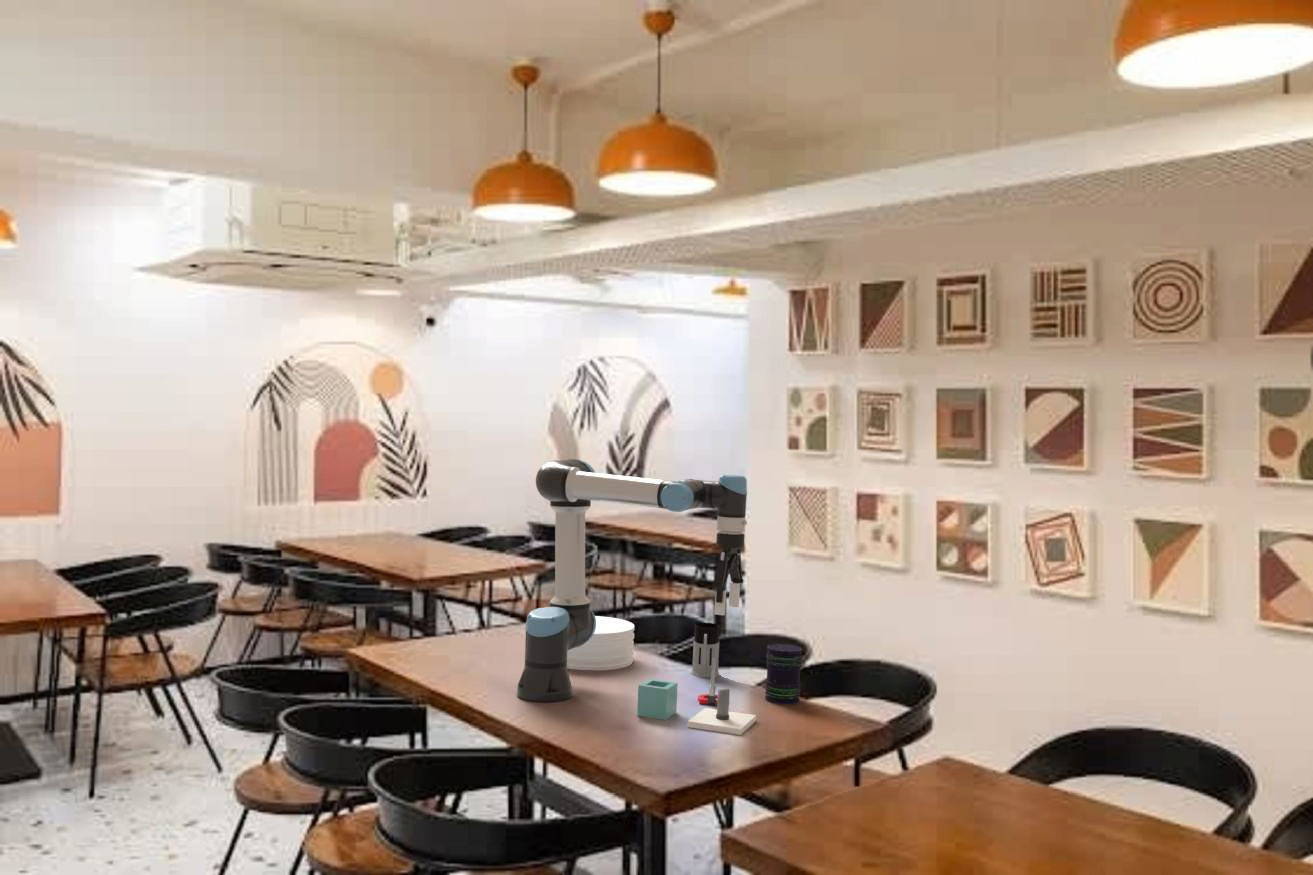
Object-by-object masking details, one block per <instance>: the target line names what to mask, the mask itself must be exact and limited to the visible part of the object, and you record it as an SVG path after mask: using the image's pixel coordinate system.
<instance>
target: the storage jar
mask: <svg viewBox="0 0 1313 875" xmlns="http://www.w3.org/2000/svg"><path fill="white" fill-rule="evenodd" d="M802 651H803V648H802V647H801V646H799V645H797V644H793V643H792V644H789V643H771V644H768V645H767V651H766V653H767V654H766V667H767V669H766V670H767V671H766V679H765V687H764V690H765V691H764V692H765V696H764V700H765V701H766V702H769V703H771V704H774V705H775V704H776V705H786V706H790V705H796V704H799V703H800V697H801V696H800V695H801V694H800V693H801V681H800V678H801V669H802V662H803V660H802V659H803V657H802V654H803V653H802Z"/></svg>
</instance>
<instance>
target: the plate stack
mask: <svg viewBox="0 0 1313 875" xmlns="http://www.w3.org/2000/svg"><path fill="white" fill-rule="evenodd" d="M595 618H596V629H595V632H594V634H593V636H592V637H591V639H590V640H589V641H587V642H586V643H585V644H583V645H581V646H579V647H576V648H573V649H570V650H568V651H567V670H568V669H569V670H576V671H577V670H578V671H608V670H609V671H610V670H611V671H612V670H617V669H622V668H626V667H629V666H631V665H632V664H633V663H632V662H634V645H635V642H634V639H635V632H634V631H635V624H634V623H632V622H630V621H628V620H626V619H623V618H622V619H621V618H617V617H611V616H609V617H608V616H600V615H595Z"/></svg>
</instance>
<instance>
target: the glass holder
mask: <svg viewBox="0 0 1313 875" xmlns="http://www.w3.org/2000/svg"><path fill="white" fill-rule="evenodd" d="M692 648H693V649H692V650H693V651H692V652H693V653H692V668H691V672H690V674H691V675H692V676H694V677H698V678H711V666H712V661H713V658H715V665H716V671H715V678H716V677H719V676H720V671H719V658H720V657H719V654H720V624H717V623H712V622H698V623H697V622H696V623H694V638H693V647H692Z"/></svg>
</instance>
